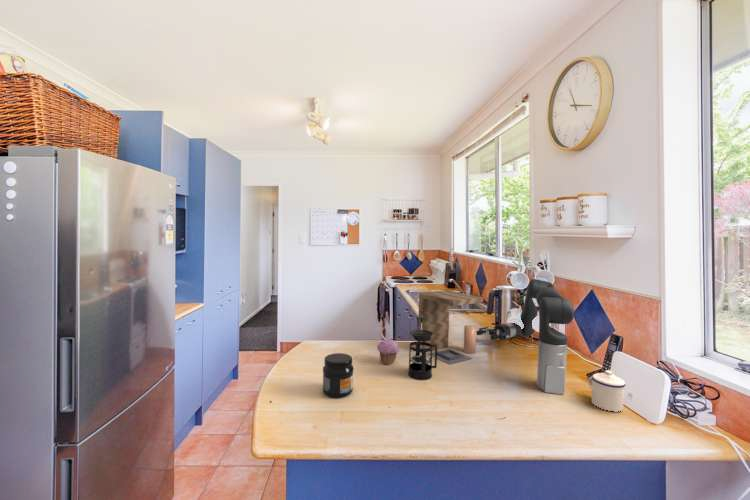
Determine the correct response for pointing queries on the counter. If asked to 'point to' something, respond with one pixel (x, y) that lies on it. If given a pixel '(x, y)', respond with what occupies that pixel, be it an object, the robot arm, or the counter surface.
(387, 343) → the cupcake
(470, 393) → the counter surface
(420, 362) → the french press
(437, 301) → the wooden side table
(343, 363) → the supplement container
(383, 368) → the counter surface
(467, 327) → the canister
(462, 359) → the grey square plate
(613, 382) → the teacup with lid
